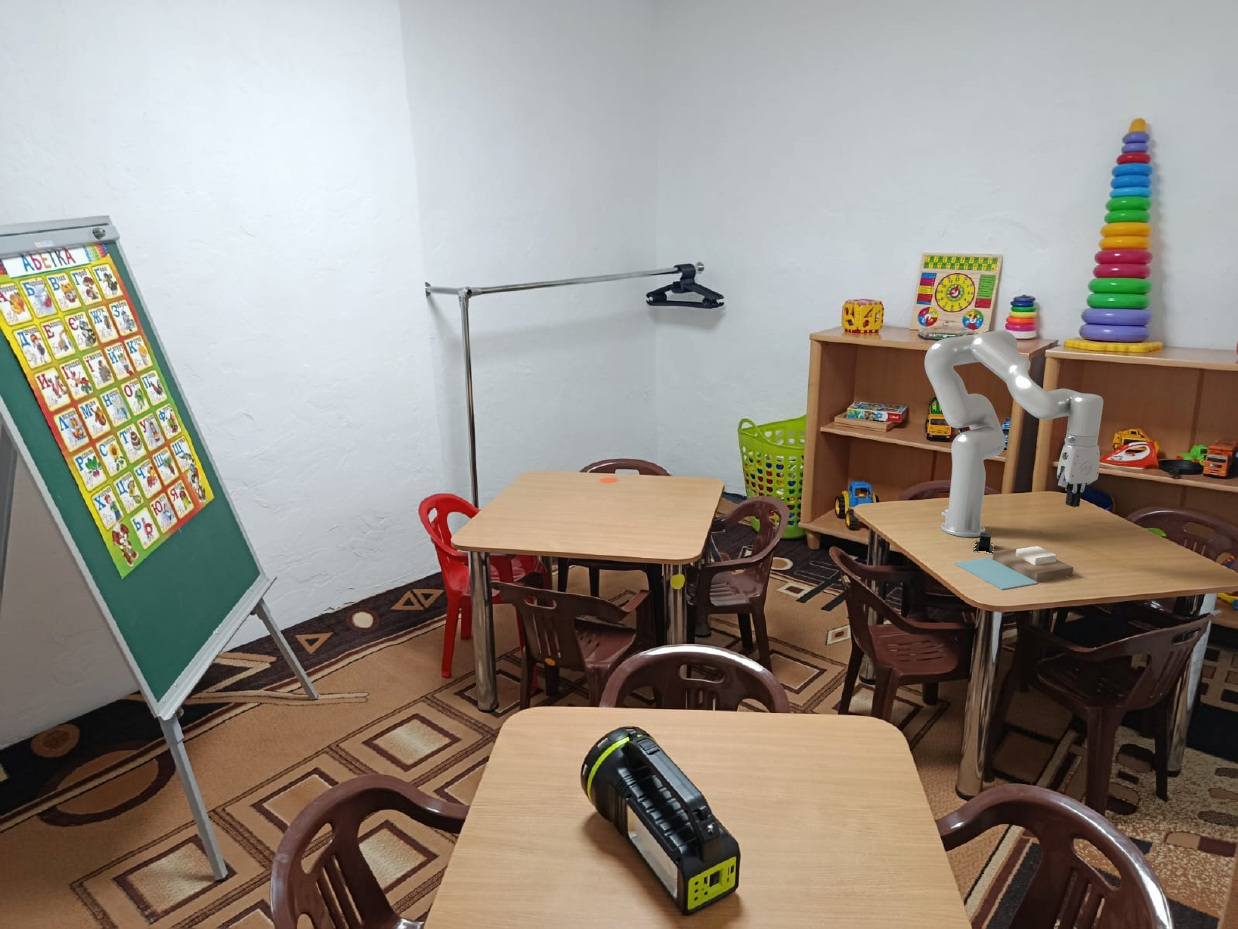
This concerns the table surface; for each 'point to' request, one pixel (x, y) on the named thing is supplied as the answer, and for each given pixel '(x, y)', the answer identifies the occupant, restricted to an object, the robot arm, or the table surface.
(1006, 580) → the mat
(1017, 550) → the tile
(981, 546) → the black irregular piece
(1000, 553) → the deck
